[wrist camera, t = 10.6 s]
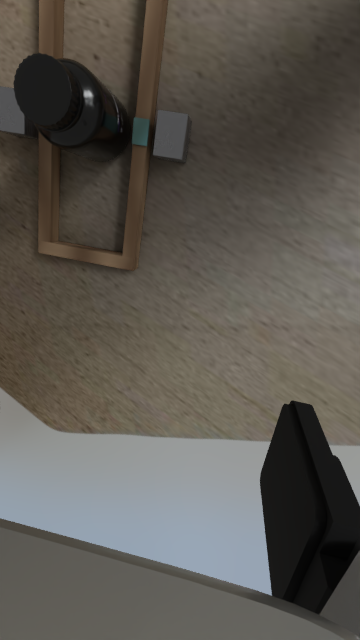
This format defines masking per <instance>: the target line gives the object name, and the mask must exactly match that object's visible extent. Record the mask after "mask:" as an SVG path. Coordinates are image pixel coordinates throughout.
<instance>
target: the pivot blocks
mask: <svg viewBox="0 0 360 640" xmlns="http://www.w3.org/2000/svg"><path fill="white" fill-rule="evenodd" d="M191 123H192V121H191V119H190V117H189V115H188V114H184V113H177V112H170V111H164V110H158V116H157V124H156V133H155V142H154V150H153V155H154V156H155V157H157V158H158V159H162V160H169V161H175V162H181V163H186V157H187V150H188V144H189V137H190V130H191ZM0 131H2V132H5V133H8V134H11V135H15V136H19V137H26V138H32V139H38V140H39V131H38V130H37V128H36V126H35V125H34V123H33V122H31V121H29V119H28V118H27V117H25V116H24V114H23V112H22V111H20V108H19V106H18V105H17V100H16V98H15V92H14V88H8V87H1V86H0Z"/></svg>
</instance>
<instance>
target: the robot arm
mask: <svg viewBox="0 0 360 640" xmlns="http://www.w3.org/2000/svg"><path fill="white" fill-rule="evenodd" d="M260 486H261V495H262V505H263V515H264V524H265V534H266V543H267V552H268V562H269V571H270V580H271V590H272V596H270V595H268V594H265V593H262V592H259V591H256V590H253V589H250V588H246V587H243V586H240V585H236V584H233V583H229V582H226V581H222V580H219V579H216V578H213V577H209V576H206V575H203V574H199V573H196V572H192V571H189V570H186V569H182V568H178V567H175V566H171V565H168V564H164V563H160V562H157V561H153V560H150V559H146V558H143V557H139V556H135V555H131V554H128V553H124V552H121V551H117V550H113V549H110V548H107V547H103V546H99V545H96V544H92V543H88V542H85V541H81V540H78V539H74V538H70V537H67V536H63V535H59V534H56V533H51V532H48V531H45V530H41V529H37V528H33V527H30V526H26V525H22V524H19V523H15V522H11V521H7V520H4V519H0V640H360V506H359V504H358V501H357V499H356V497H355V494H354V492H353V490H352V487H351V485H350V483H349V481H348V478H347V476H346V473H345V471H344V469H343V467H342V464H341V462H340V460H339V459H338V457H336V456H334V455H332V452H331V450H330V447H329V445H328V442H327V440H326V437H325V435H324V433H323V430H322V428H321V425H320V423H319V420H318V418H317V416H316V413H315V411H314V408H313V406H312V405H310V404H306V403H301V402H297V401H291V402H290V404H289V405H288V404H284V405H283V407H282V410H281V413H280V416H279V419H278V422H277V425H276V428H275V431H274V434H273V437H272V440H271V443H270V447H269V450H268V453H267V455H266V458H265V461H264V465H263V468H262V471H261V477H260Z"/></svg>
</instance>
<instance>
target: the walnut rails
mask: <svg viewBox="0 0 360 640" xmlns="http://www.w3.org/2000/svg"><path fill="white" fill-rule="evenodd" d="M167 6H168V0H147V1H146V12H145V22H144V33H143V43H142V54H141V65H140V75H139V86H138V96H137V107H136V117H134V124H133V134H132V144H133V149H132V159H131V170H130V180H129V191H128V201H127V212H126V222H125V233H124V243H123V253H120V252H115V251H110V250H105V249H99V248H94V247H89V246H83V245H78V244H73V243H67V242H62V241H58V239H59V198H60V157H61V148H58V147H56V146H54V145H52V144H51V143H49V142H48V141H47V140H46V139H45V138H44V137H43V136H42V135H41V134H40V133H39V188H38V253H43V254H48V255H53V256H58V257H63V258H68V259H74V260H79V261H84V262H89V263H94V264H100V265H105V266H110V267H115V268H120V269H126V270H131V271H134V270H135V269H137V268H138V261H139V253H140V244H141V235H142V226H143V217H144V209H145V200H146V191H147V182H148V173H149V165H150V156H151V147H152V138H153V129H154V121H155V112H156V103H157V94H158V85H159V77H160V68H161V59H162V50H163V41H164V33H165V24H166V15H167ZM63 34H64V0H39V53H41V54H47V55H49V56H53V57H54V58H55V59H59V58H63Z"/></svg>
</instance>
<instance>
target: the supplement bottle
mask: <svg viewBox="0 0 360 640" xmlns="http://www.w3.org/2000/svg"><path fill="white" fill-rule="evenodd" d="M14 77H15V81H14V92H15V98H16V100H17V105H18V106H19V108H20V111H22V112H23V114H24V116H25V117H27V118H28V119H29V121H31V122H33V123H34V125H35V126H36V128H37V130H38V131H39V133H40V134H41V135H42V136H43V137H44V138H45V139H46V140H47V141H48V142H49V143H51V144H52V145H54V146H56V147H58V148H61V149H63V150H66V151H69V152H71V153H74V154H77V155H79V156H82V157H85V158H87V159H90V160H93V161H97V162H107V161H110V160H113V159H115V158H116V157H118V156H119V155H120V154H121V153H122V152H123V150H124V149H125V147H126V145H127V143H128V140H129V136H130V121H129V117H128V114H127V111H126V109H125V108H124V106H123V104H122V103H121V102H120V101H119V100H118V98H117V97H116V96H115V95H114V94H113V93H112V92H111V91H110V90H109V89H108V88H107V87H106V86H105V85H104V84H103V83H102V82H101V81H100V80H99V79H98V78H97V77H96V76H95V75H94V74H93V73H92V72H91V71H89V70H88V69H87V68H86V67H85V66H83V65H82V64H80V63H79V62H77V61H74V60H71V59H66V58H59V59H55V58H54V57H53V56H49V55H47V54H41V53H38V54H33V55H32V56H28V57H27V58H26V59H24V60H23V62H22V63H21V64H20V65H19V68H18V69H17V70H16V75H15V76H14Z"/></svg>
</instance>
